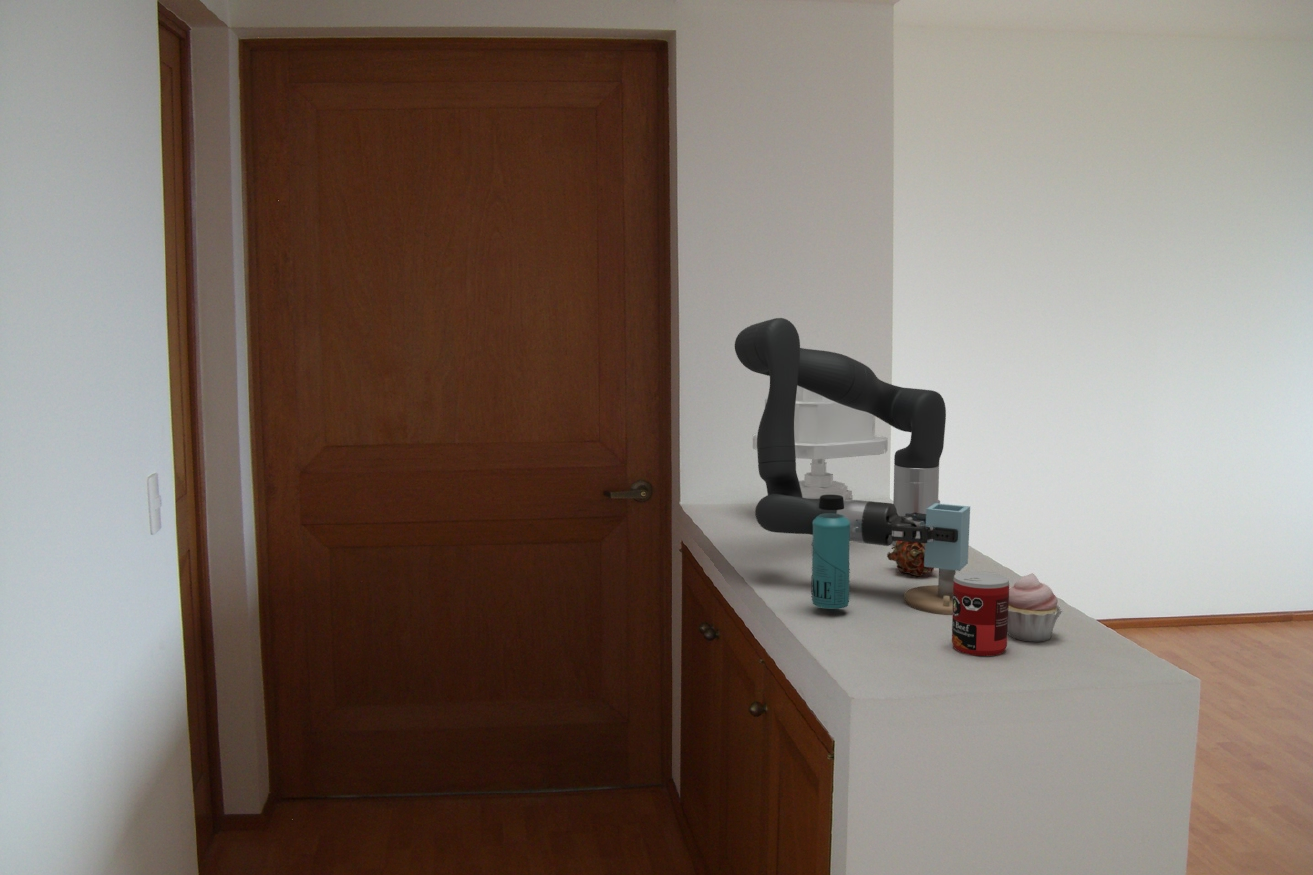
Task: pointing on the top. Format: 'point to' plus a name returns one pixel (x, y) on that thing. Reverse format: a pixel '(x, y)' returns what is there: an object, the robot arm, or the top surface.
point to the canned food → (980, 613)
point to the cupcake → (1032, 610)
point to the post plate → (934, 595)
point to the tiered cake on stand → (830, 440)
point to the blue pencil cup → (948, 552)
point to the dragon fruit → (909, 557)
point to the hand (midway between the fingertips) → (961, 532)
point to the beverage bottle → (830, 556)
